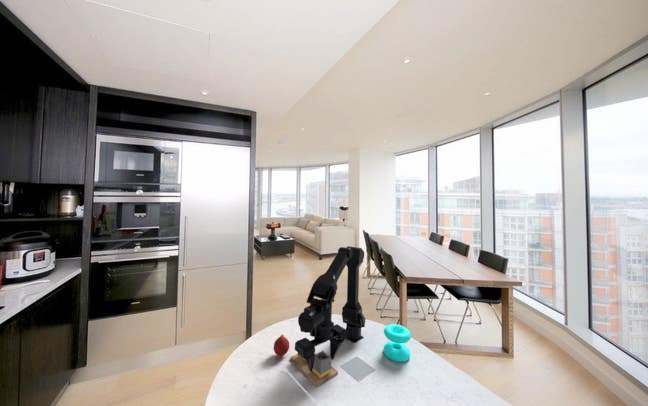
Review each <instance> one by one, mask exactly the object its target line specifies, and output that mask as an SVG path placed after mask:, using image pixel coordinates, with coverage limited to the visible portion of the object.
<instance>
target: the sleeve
mask: <svg viewBox="0 0 648 406" xmlns="http://www.w3.org/2000/svg"><path fill="white" fill-rule="evenodd" d="M316 353H317V352H316ZM320 358H323V359H324V360H322V361H321V360H319V359H320ZM331 366H332V360H331V357H330V354H327V353H326V352H325V351H324V350H322V351H319V352H318V353H317V354H315V360H314V365H313V370H312V371H313V372H314V373H315V374H316V375H317V376H319V377H320V378H322V377H324V376H325V375H327V374H329V373H330V372H331Z"/></svg>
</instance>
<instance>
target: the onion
mask: <svg viewBox="0 0 648 406" xmlns="http://www.w3.org/2000/svg"><path fill="white" fill-rule="evenodd" d="M289 350H290V342H289V340H288V338H287V337H286V336H285V335H284V334H282V333H281V334H280V336H278V338H277V339H276V340H275V341H274V343H273V351H274V353H275V355H276V356H278V357H283V356H285V355H286V354H287V353H288V352H289Z"/></svg>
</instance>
